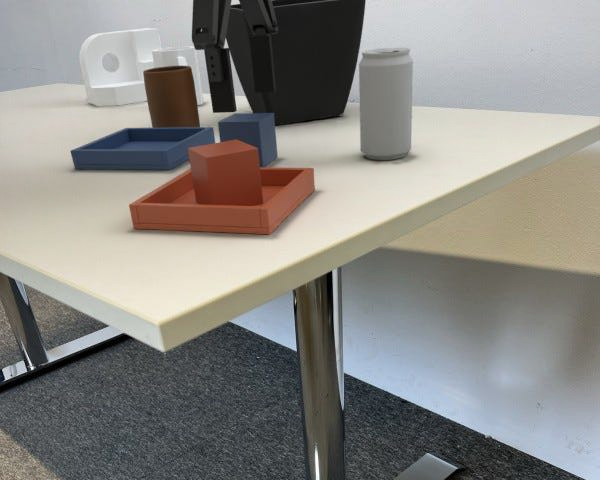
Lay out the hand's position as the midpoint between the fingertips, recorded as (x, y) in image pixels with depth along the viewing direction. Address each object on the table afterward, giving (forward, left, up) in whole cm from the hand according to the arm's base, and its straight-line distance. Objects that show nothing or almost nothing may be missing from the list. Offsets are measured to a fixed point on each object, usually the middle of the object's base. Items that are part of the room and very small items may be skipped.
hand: (246, 101), depth 81 cm
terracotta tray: (+5, -19, -7) cm, 21 cm away
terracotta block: (+5, -19, -7) cm, 21 cm away
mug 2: (-31, +43, -8) cm, 54 cm away
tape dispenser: (-48, +52, -8) cm, 71 cm away
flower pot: (-4, +31, -8) cm, 32 cm away
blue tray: (-17, +3, -7) cm, 19 cm away
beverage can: (+17, +4, -8) cm, 19 cm away
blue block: (0, 0, -7) cm, 7 cm away
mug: (-21, +19, -8) cm, 29 cm away
